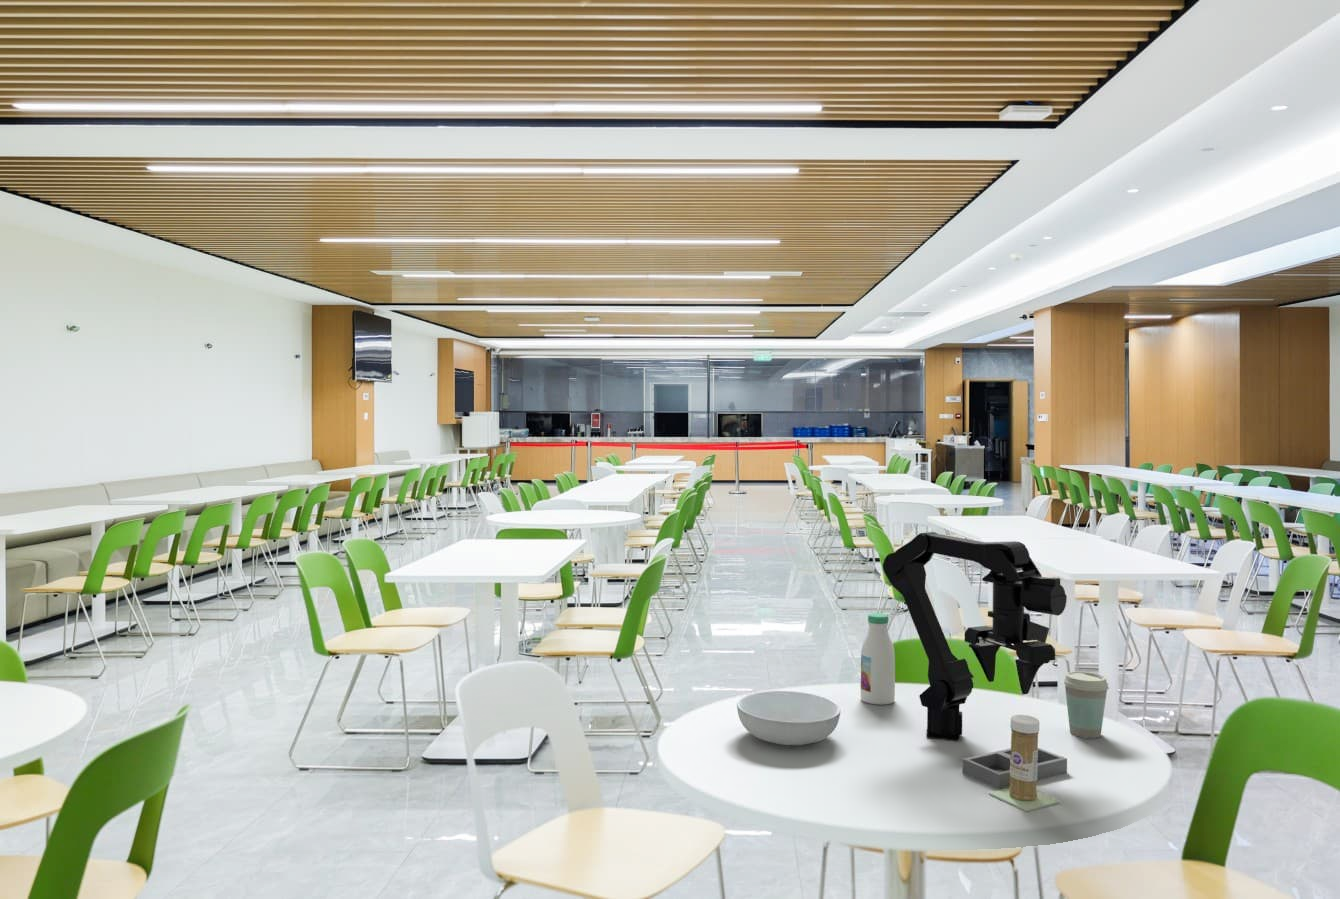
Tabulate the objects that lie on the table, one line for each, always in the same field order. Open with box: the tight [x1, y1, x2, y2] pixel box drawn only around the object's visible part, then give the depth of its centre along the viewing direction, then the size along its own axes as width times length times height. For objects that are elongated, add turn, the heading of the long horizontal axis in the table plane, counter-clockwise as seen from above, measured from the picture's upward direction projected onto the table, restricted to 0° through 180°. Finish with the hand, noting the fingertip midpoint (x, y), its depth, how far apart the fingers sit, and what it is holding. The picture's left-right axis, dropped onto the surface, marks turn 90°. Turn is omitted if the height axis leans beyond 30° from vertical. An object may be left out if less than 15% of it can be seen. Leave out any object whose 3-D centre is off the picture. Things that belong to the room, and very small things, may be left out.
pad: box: [988, 787, 1061, 813], centre depth 154 cm, size 8×8×1 cm
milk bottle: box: [860, 613, 896, 706], centre depth 210 cm, size 8×8×20 cm
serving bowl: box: [736, 690, 841, 746], centre depth 184 cm, size 21×21×7 cm
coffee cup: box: [1063, 671, 1110, 739], centre depth 187 cm, size 8×8×12 cm
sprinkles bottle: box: [1009, 714, 1040, 801], centre depth 154 cm, size 5×5×13 cm
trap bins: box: [961, 747, 1068, 790], centre depth 166 cm, size 17×9×2 cm, turn 117°
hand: (1007, 687), depth 175 cm, fingers open, 9 cm apart
